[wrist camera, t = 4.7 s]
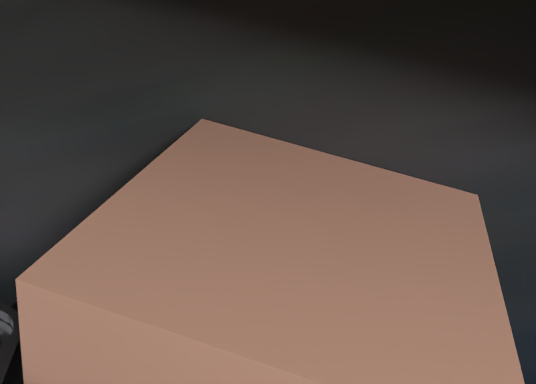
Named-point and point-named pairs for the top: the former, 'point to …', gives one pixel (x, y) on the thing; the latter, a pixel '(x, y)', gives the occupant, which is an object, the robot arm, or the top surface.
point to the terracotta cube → (268, 276)
